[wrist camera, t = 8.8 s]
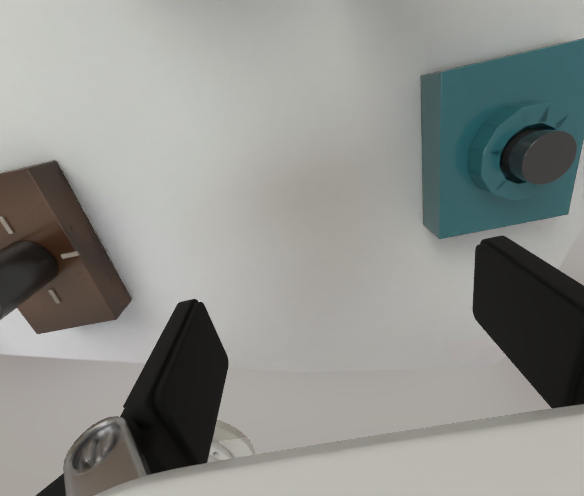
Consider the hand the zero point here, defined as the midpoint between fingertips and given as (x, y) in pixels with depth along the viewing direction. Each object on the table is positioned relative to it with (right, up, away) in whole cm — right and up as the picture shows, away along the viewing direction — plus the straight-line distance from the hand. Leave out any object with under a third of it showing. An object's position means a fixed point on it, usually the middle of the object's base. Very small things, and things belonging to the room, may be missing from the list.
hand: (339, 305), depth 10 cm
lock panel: (-23, +2, +17) cm, 29 cm away
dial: (-23, +1, +14) cm, 27 cm away
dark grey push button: (+14, +8, +10) cm, 19 cm away
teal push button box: (+14, +10, +14) cm, 22 cm away
